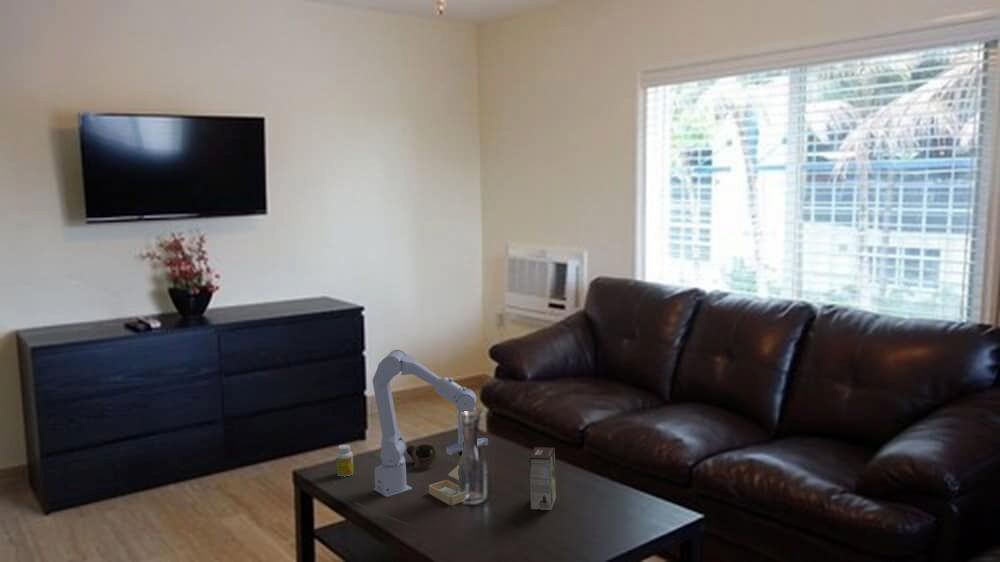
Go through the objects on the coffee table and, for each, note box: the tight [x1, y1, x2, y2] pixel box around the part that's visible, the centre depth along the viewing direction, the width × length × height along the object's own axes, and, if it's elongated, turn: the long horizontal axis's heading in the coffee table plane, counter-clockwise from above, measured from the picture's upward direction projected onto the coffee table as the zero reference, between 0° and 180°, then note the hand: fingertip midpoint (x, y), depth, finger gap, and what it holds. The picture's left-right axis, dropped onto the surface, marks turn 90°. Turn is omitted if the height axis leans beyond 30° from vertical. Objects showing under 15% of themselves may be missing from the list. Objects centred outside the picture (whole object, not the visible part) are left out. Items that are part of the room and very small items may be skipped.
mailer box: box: [428, 479, 467, 506], centre depth 242 cm, size 7×12×3 cm, turn 38°
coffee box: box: [529, 446, 557, 511], centre depth 235 cm, size 9×6×16 cm
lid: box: [447, 464, 488, 481], centre depth 246 cm, size 7×12×1 cm, turn 38°
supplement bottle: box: [336, 444, 355, 478], centre depth 262 cm, size 5×5×10 cm
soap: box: [439, 487, 457, 496], centre depth 241 cm, size 3×5×2 cm, turn 48°
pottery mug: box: [406, 443, 438, 469], centre depth 270 cm, size 12×10×8 cm
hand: (468, 471), depth 246 cm, fingers closed
